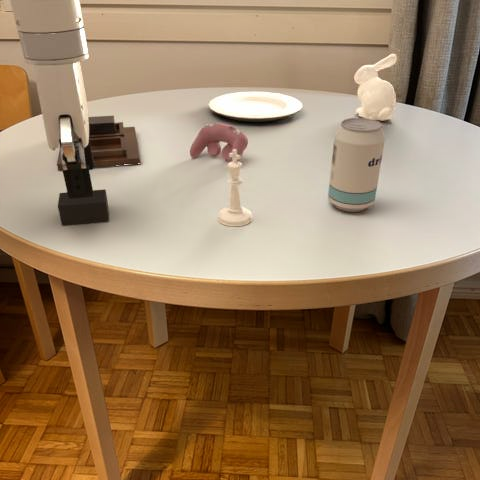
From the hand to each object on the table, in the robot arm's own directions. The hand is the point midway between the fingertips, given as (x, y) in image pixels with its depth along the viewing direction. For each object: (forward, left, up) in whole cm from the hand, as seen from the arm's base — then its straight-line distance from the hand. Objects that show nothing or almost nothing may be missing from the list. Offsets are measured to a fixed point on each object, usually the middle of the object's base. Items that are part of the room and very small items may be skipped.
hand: (82, 182), depth 73 cm
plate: (+36, +46, -5) cm, 59 cm away
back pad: (0, 0, -5) cm, 5 cm away
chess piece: (+21, -5, -5) cm, 22 cm away
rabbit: (+61, +39, -5) cm, 72 cm away
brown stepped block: (+2, +28, -5) cm, 29 cm away
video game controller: (+23, +19, -5) cm, 30 cm away
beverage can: (+39, -4, -5) cm, 39 cm away
